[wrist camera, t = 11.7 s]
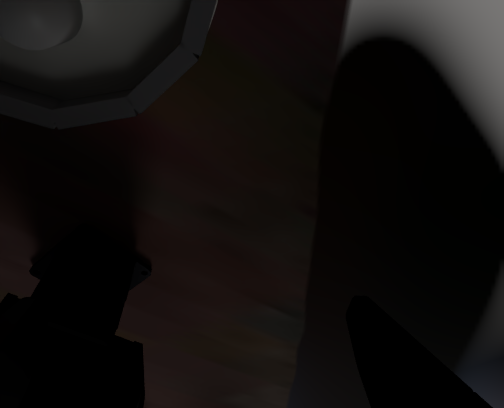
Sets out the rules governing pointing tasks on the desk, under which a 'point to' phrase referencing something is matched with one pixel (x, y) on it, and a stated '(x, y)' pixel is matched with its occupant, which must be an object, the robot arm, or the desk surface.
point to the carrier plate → (94, 56)
